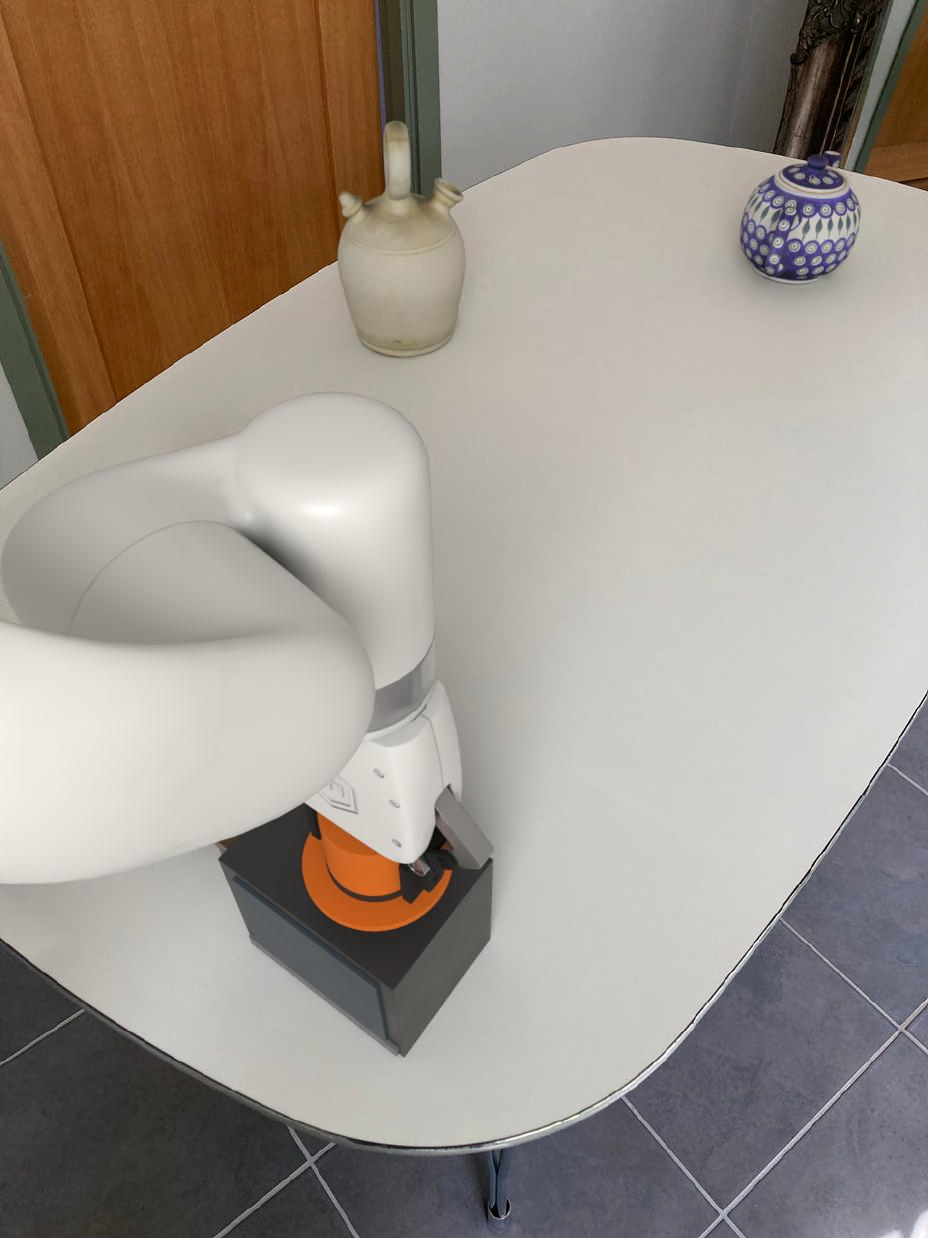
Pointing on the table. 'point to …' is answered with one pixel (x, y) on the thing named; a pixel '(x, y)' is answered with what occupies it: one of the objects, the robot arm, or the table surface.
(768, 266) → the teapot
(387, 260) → the jug
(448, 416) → the table surface
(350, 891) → the hat
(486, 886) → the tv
